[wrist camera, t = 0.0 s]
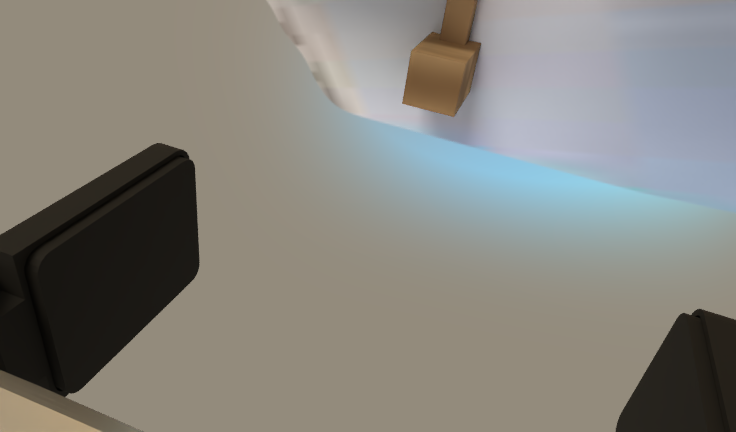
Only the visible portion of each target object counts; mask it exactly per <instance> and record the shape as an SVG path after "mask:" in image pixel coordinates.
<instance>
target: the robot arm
mask: <svg viewBox="0 0 736 432" xmlns="http://www.w3.org/2000/svg"><path fill="white" fill-rule="evenodd" d="M196 203H197V202H196V182H195V166H194V163H193V161H191V160H190V159H189V156H188V154H187V152H185V151H184V150H181V149H178V148H174V147H171V146H168V145H165V144H162V143H157V144H154V145H152V146H150V147H148V148H147V149H145V150H143V151H142V152H140V153H138V154H137V155H135V156H133V157H131V158H130V159H128V160H126V161H125V162H123V163H121V164H120V165H118V166H116V167H115V168H113V169H111V170H109V171H108V172H106V173H104V174H103V175H101V176H100V177H98V178H96V179H94V180H93V181H91V182H90V183H88V184H86V185H84V186H82V187H81V188H79V189H77V190H76V191H74V192H72V193H71V194H69V195H67V196H65V197H64V198H62V199H61V200H59V201H57V202H55V203H54V204H52V205H50V206H49V207H47V208H45V209H43V210H42V211H40V212H38V213H37V214H35V215H33V216H32V217H30V218H28V219H27V220H25V221H23V222H22V223H20V224H18V225H16V226H15V227H13V228H12V229H10V230H8V231H6V232H5V233H3V234H1V235H0V432H143V431H141V430H139V429H136V428H134V427H132V426H130V425H127V424H125V423H123V422H120V421H118V420H116V419H114V418H111V417H109V416H107V415H104V414H102V413H100V412H97V411H95V410H93V409H90V408H88V407H86V406H84V405H81V404H79V403H77V402H74V401H72V400H70V399H67V398H65V397H66V396H67V395H68V394H69V393H75V392H77V391H79V390H80V389H82V388H83V387H84V386H85V385H86V384H87V383H88V382H89V381H90V380H91V379H92V378H93V377H94V376H95V375H96V374H97V373H98V372H99V371H100V370H101V369H102V368H103V367H104V366H105V365H106V364H107V363H108V362H109V361H110V360H111V359H112V358H113V357H114V356H116V355H117V353H119V352H120V351H121V350H122V349H123V348H124V347H125V346H126V345H127V344H128V343H129V342H130V341H131V340H132V339H133V338H134V337H135V336H136V335H137V334H138V333H139V332H140V331H141V330H142V329H143V328H144V327H145V326H146V325H147V324H148V323H149V322H150V321H151V320H152V319H153V318H154V317H155V316H156V315H158V314H159V313H160V312H161V311H162V310H163V309H164V308H165V307H166V306H167V305H168V304H169V303H170V302H171V301H172V300H173V299H174V298H175V297H176V296H177V295H178V294H179V293H180V292H181V291H182V290H183V289H184V288H185V287H186V286H187V285H188V284H189V283H190V282H191V281H192V280H193V279H194V278H195V276H196V274H197V272H198V269H199V244H198V224H197V204H196ZM616 432H736V320H734V319H731V318H728V317H725V316H721V315H718V314H715V313H712V312H708V311H705V310H702V309H697V310H696V311H694V312H693V313H692V315H689V314H685V313H682V314H681V315H679V317H678V318H677V319H676V321H675V323H674V325H673V326H672V328H671V330H670V331H669V333H668V335H667V337H666V338H665V340H664V341H663V343H662V345H661V347H660V349H659V350H658V352H657V353H656V355H655V357H654V358H653V360H652V362H651V363H650V365H649V367H648V369H647V370H646V372H645V374H644V376H643V377H642V379H641V381H640V382H639V384H638V386H637V387H636V389H635V391H634V392H633V394H632V396H631V397H630V399H629V401H628V403H627V404H626V406H625V407H624V409H623V411H622V413H621V415H620V417H619V420H618V423H617V428H616Z"/></svg>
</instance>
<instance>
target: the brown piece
mask: <svg viewBox="0 0 736 432" xmlns="http://www.w3.org/2000/svg"><path fill="white" fill-rule="evenodd" d="M477 2H478V0H447V4H446V9H445V14H444V19H443V24H442V29H441V34H438V33H434V32H432V33H431V34H429V35H428V36H427V37H426V38H425V39H424V40H423V41H422V42H421V43H419V44H418V45H417V46H416V47H415V48H414V49H413V50H412V51H411V56H410V61H409V67H408V73H407V79H406V85H405V91H404V96H403V102H402V104H406V105H410V106H414V107H418V108H421V109H425V110H429V111H433V112H437V113H441V114H445V115H448V116H452V117H454V116H455V114H456V113H457V111H458V109H459V108H460V106H461V105H462V103H463V101H464V100H465V98H466V97H467V95H468V93H469V92H470V88H471V84H472V79H473V75H474V71H475V67H476V63H477V59H478V54H479V50H480V46H481V43H478V42H473V41H469V37H470V32H471V28H472V24H473V19H474V15H475V10H476V6H477Z"/></svg>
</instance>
